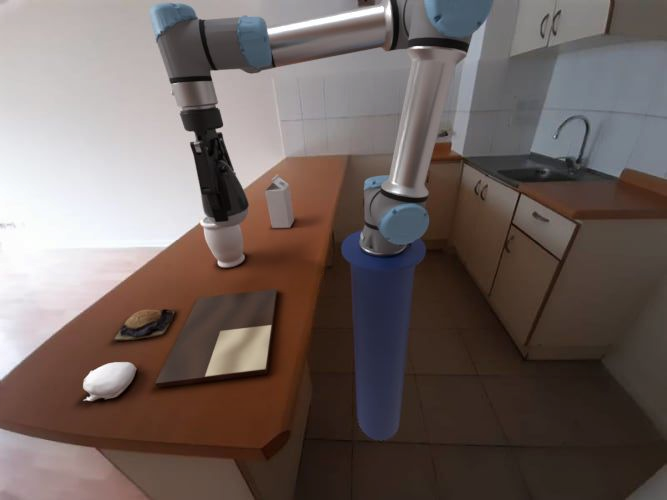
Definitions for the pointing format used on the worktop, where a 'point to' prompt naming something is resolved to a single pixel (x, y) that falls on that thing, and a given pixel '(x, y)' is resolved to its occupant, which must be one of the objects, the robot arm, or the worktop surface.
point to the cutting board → (222, 339)
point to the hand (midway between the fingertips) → (228, 211)
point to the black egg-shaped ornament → (228, 197)
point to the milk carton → (279, 203)
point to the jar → (224, 243)
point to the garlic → (109, 380)
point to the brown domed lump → (145, 324)
